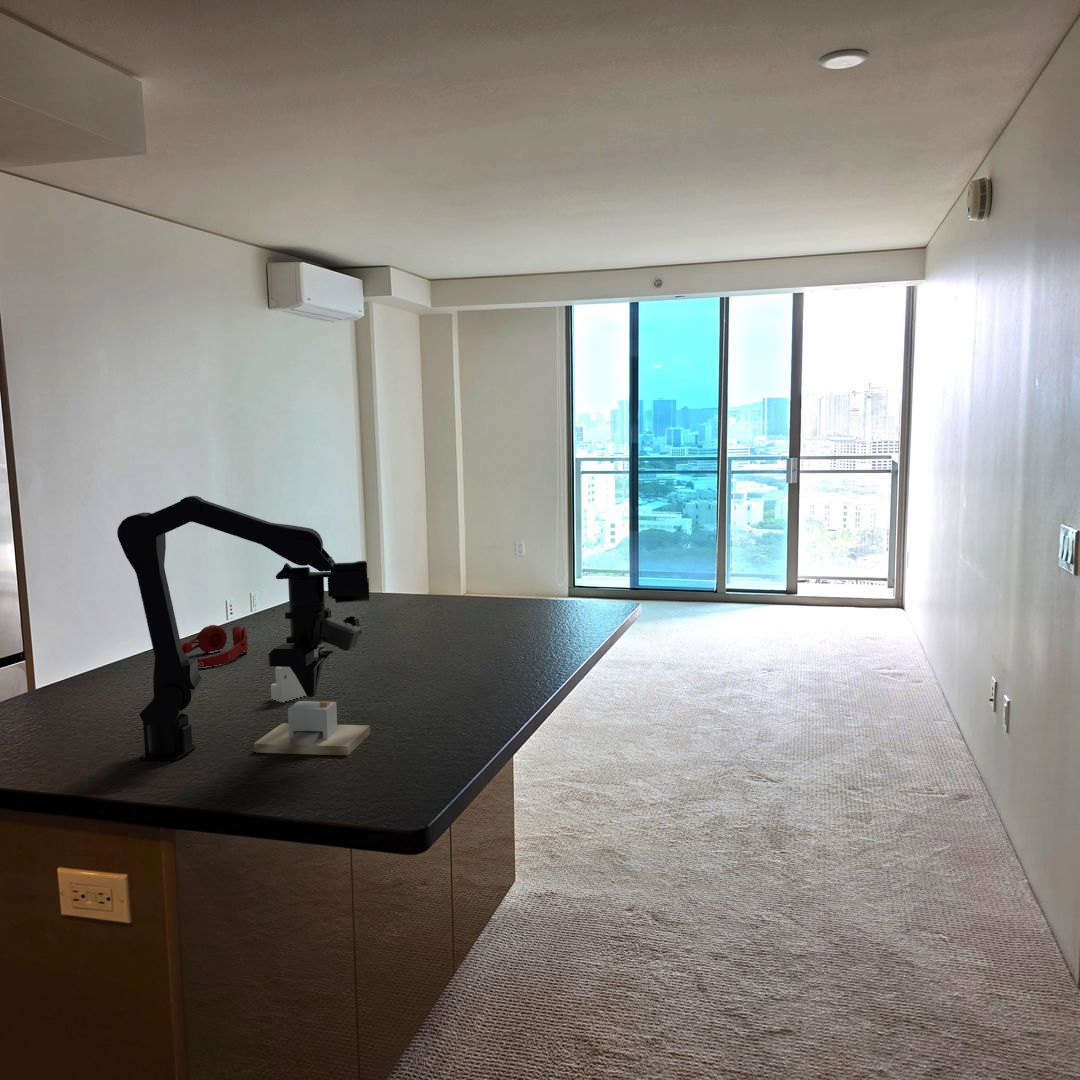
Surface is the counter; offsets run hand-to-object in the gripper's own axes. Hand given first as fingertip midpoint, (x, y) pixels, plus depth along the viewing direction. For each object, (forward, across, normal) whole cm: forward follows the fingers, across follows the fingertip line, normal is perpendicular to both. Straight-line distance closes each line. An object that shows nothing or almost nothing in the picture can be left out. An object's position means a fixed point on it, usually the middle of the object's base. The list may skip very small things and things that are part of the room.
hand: (311, 696), depth 151 cm
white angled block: (+8, +27, +16) cm, 32 cm away
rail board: (+8, 0, 0) cm, 8 cm away
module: (+6, 0, 0) cm, 7 cm away
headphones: (+9, +58, +49) cm, 76 cm away
